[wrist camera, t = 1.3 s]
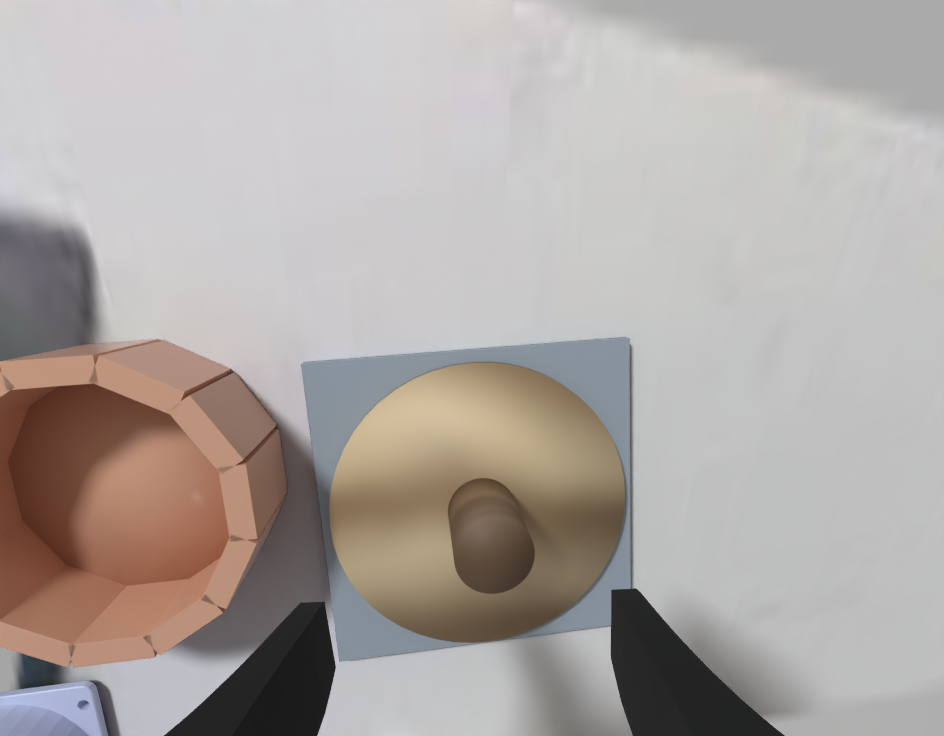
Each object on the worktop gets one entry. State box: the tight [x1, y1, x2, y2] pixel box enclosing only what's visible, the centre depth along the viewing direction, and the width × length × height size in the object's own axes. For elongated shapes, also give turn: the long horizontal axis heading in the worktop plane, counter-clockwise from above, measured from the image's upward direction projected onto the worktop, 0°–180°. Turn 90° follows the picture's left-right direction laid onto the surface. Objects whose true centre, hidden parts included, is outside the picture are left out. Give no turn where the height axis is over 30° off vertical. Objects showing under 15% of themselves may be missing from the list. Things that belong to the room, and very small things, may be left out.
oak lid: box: [329, 362, 625, 643], centre depth 22 cm, size 14×14×5 cm
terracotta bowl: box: [0, 339, 287, 668], centre depth 20 cm, size 12×12×4 cm
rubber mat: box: [301, 337, 631, 662], centre depth 24 cm, size 15×15×1 cm
